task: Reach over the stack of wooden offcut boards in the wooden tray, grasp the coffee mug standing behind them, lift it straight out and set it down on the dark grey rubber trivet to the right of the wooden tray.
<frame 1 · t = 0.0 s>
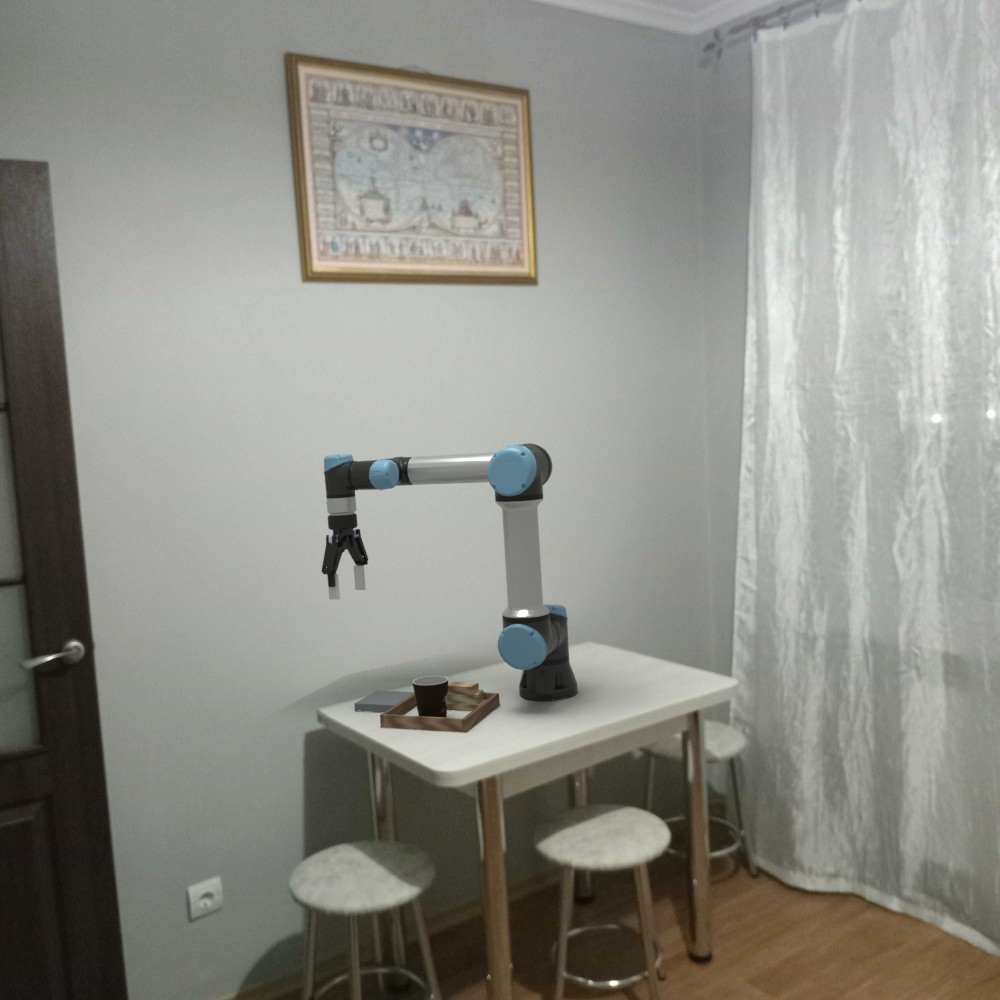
hand: (347, 594, 257), 28 cm above the table, fingers open, 13 cm apart
offcut board beech: (457, 691, 246), point 4 cm above the table, touching offcut board pine
offcut board oak: (456, 710, 246), on the table, touching offcut board pine
offcut board pine: (454, 700, 246), point 2 cm above the table, touching offcut board beech, offcut board oak
wooden tray: (441, 715, 240), on the table
trivet: (387, 705, 252), on the table
coffee mug: (436, 720, 237), on the table
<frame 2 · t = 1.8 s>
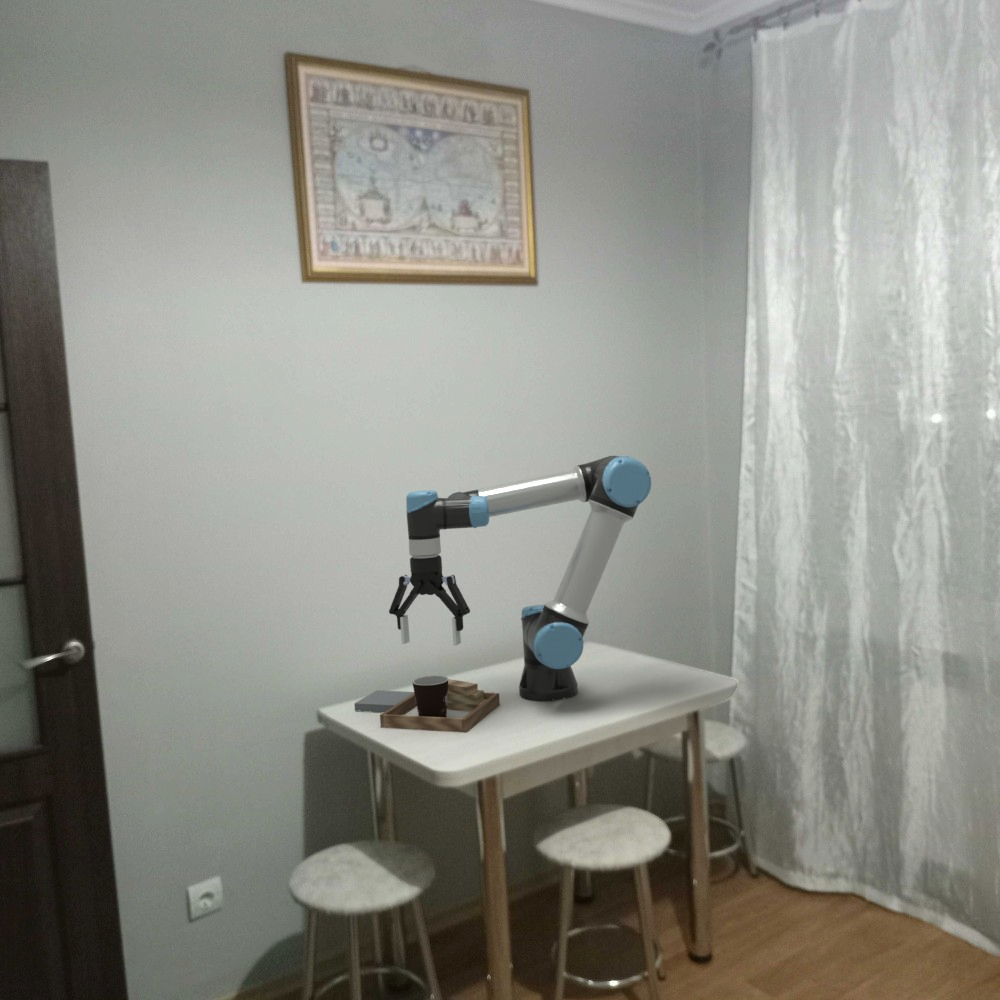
hand: (431, 643, 236), 19 cm above the table, fingers open, 13 cm apart
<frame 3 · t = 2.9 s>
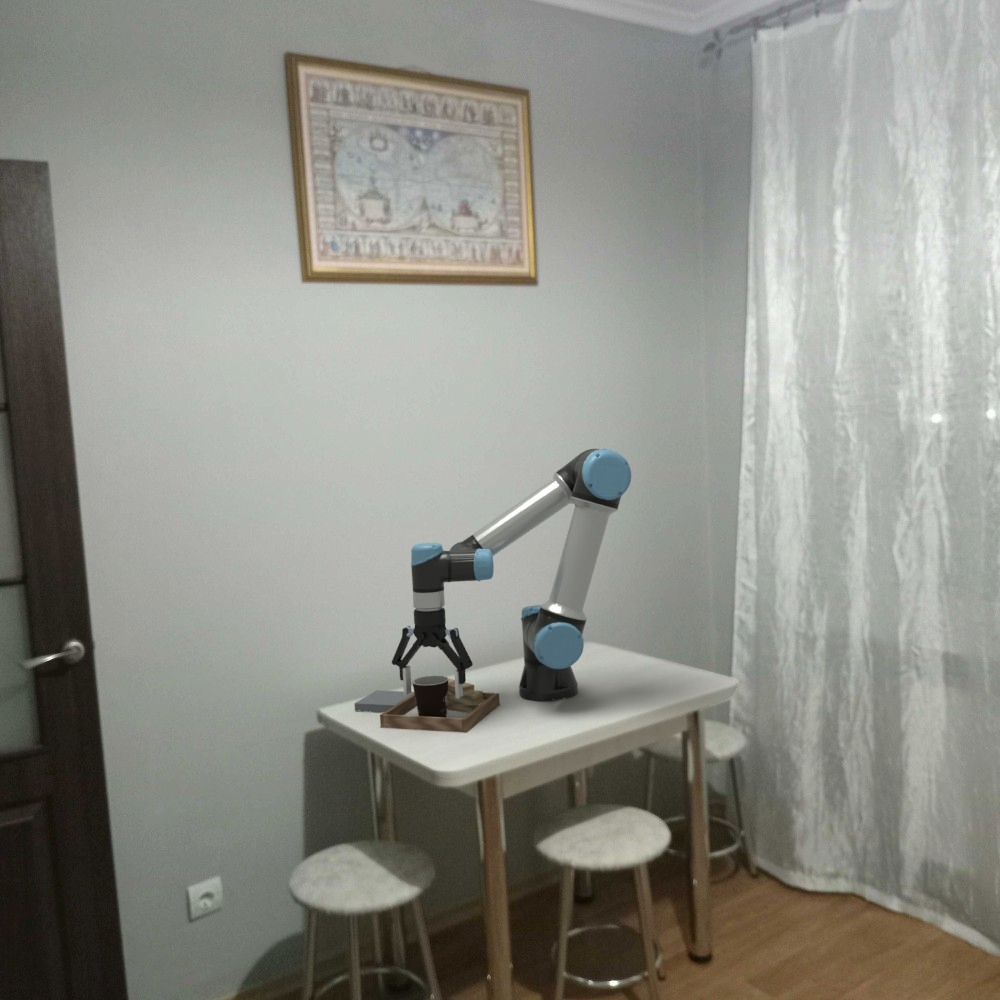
hand: (433, 695, 237), 6 cm above the table, fingers open, 13 cm apart
offcut board beech: (455, 691, 246), point 4 cm above the table
offcut board pine: (454, 700, 246), point 2 cm above the table, touching offcut board oak
everything else where it was.
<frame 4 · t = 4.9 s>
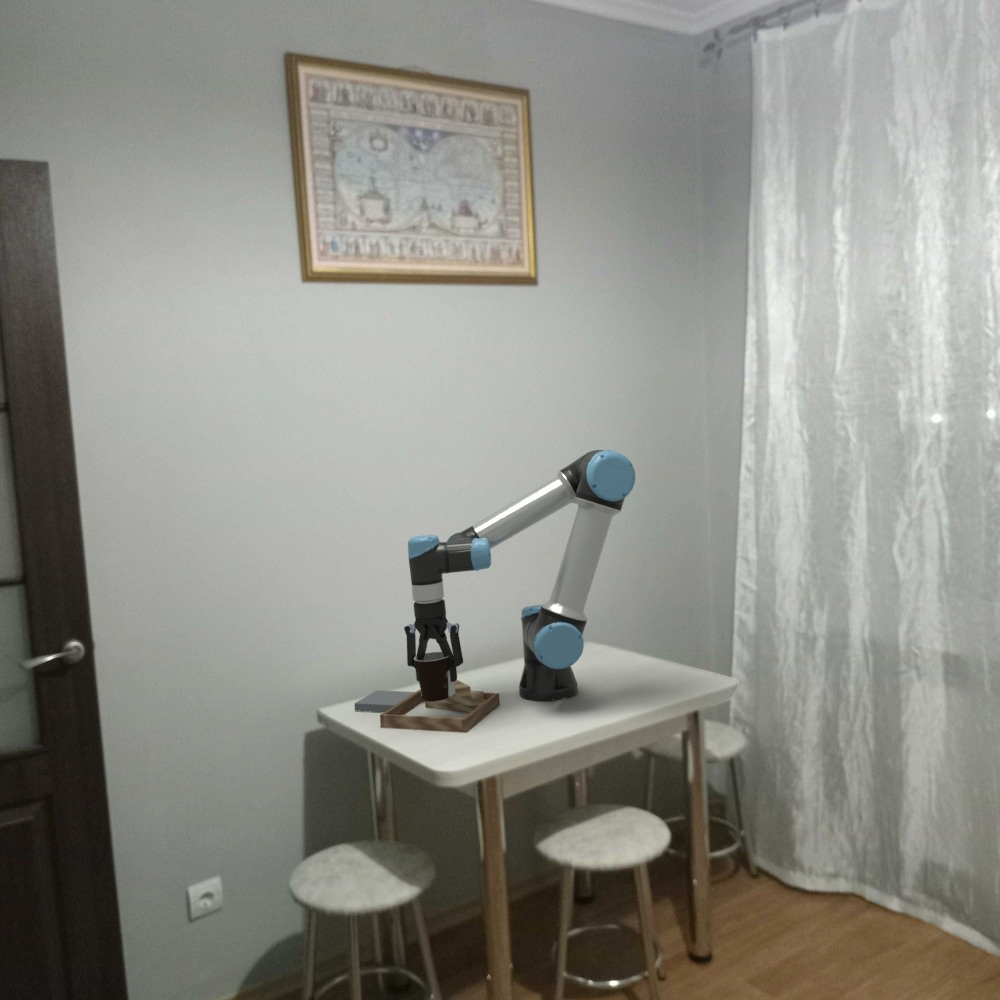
hand: (438, 694, 237), 6 cm above the table, fingers closed on coffee mug, 6 cm apart
coffee mug: (439, 696, 237), point 6 cm above the table, touching gripper
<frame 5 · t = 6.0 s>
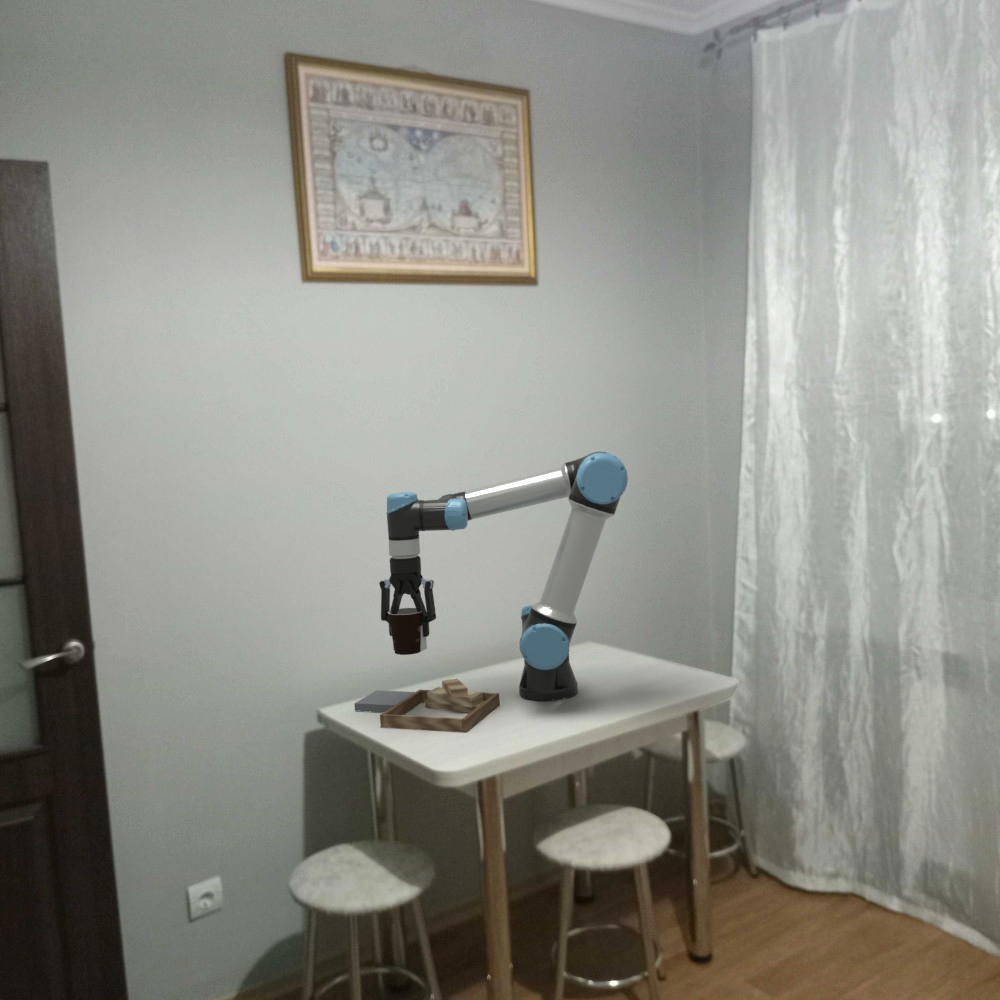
hand: (410, 649, 242), 16 cm above the table, fingers closed on coffee mug, 6 cm apart
offcut board beech: (455, 692, 245), point 4 cm above the table, touching offcut board pine
offcut board pine: (455, 701, 245), point 2 cm above the table, touching offcut board beech, offcut board oak
coffee mug: (411, 651, 242), point 16 cm above the table, touching gripper
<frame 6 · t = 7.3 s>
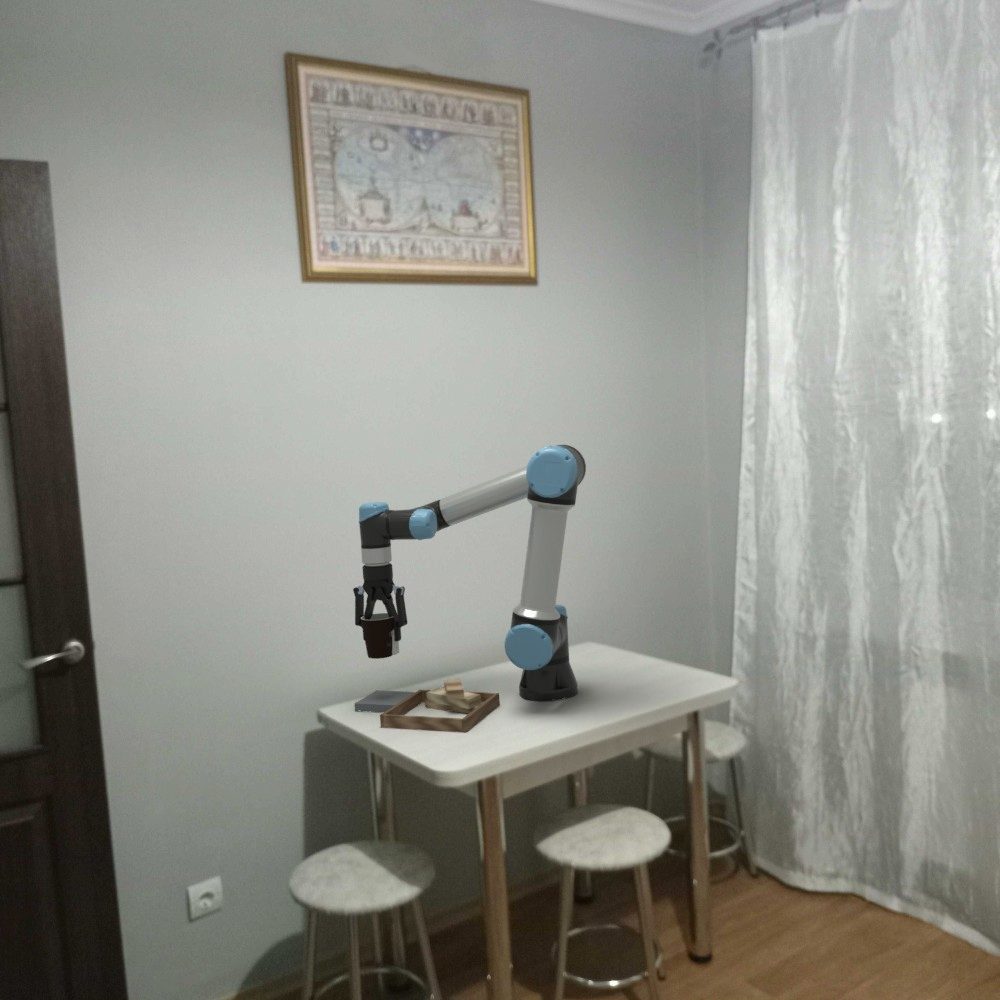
hand: (383, 653, 251), 14 cm above the table, fingers closed on coffee mug, 6 cm apart
offcut board beech: (454, 692, 245), point 4 cm above the table
offcut board pine: (453, 702, 245), point 2 cm above the table, touching offcut board oak
coffee mug: (384, 654, 251), point 13 cm above the table, touching gripper
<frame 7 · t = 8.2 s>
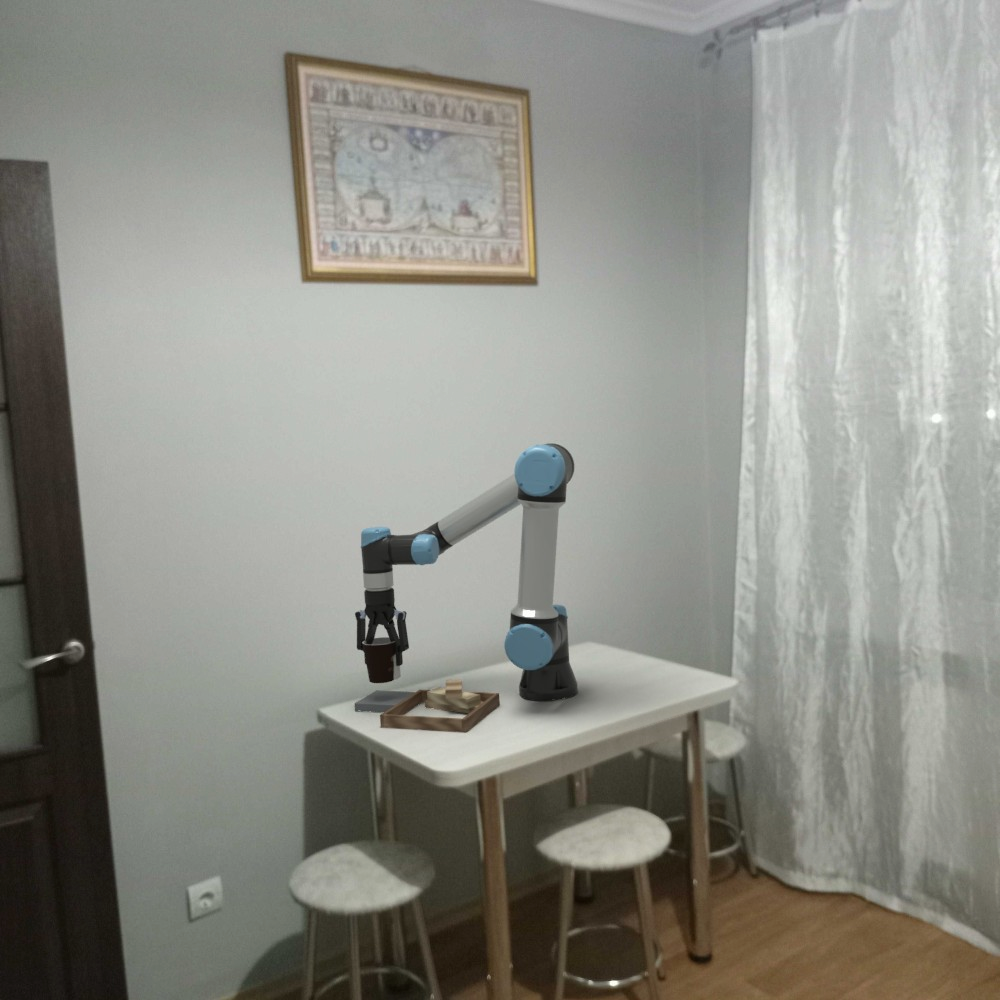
hand: (384, 677, 252), 7 cm above the table, fingers closed on coffee mug, 6 cm apart
offcut board beech: (454, 692, 245), point 4 cm above the table, touching offcut board pine
offcut board pine: (453, 702, 245), point 2 cm above the table, touching offcut board beech, offcut board oak, wooden tray
coffee mug: (385, 679, 251), point 7 cm above the table, touching gripper
everything else where it was.
when the fingers open (3 cm above the table, at t = 9.7 s): coffee mug drops 1 cm, resting on trivet.
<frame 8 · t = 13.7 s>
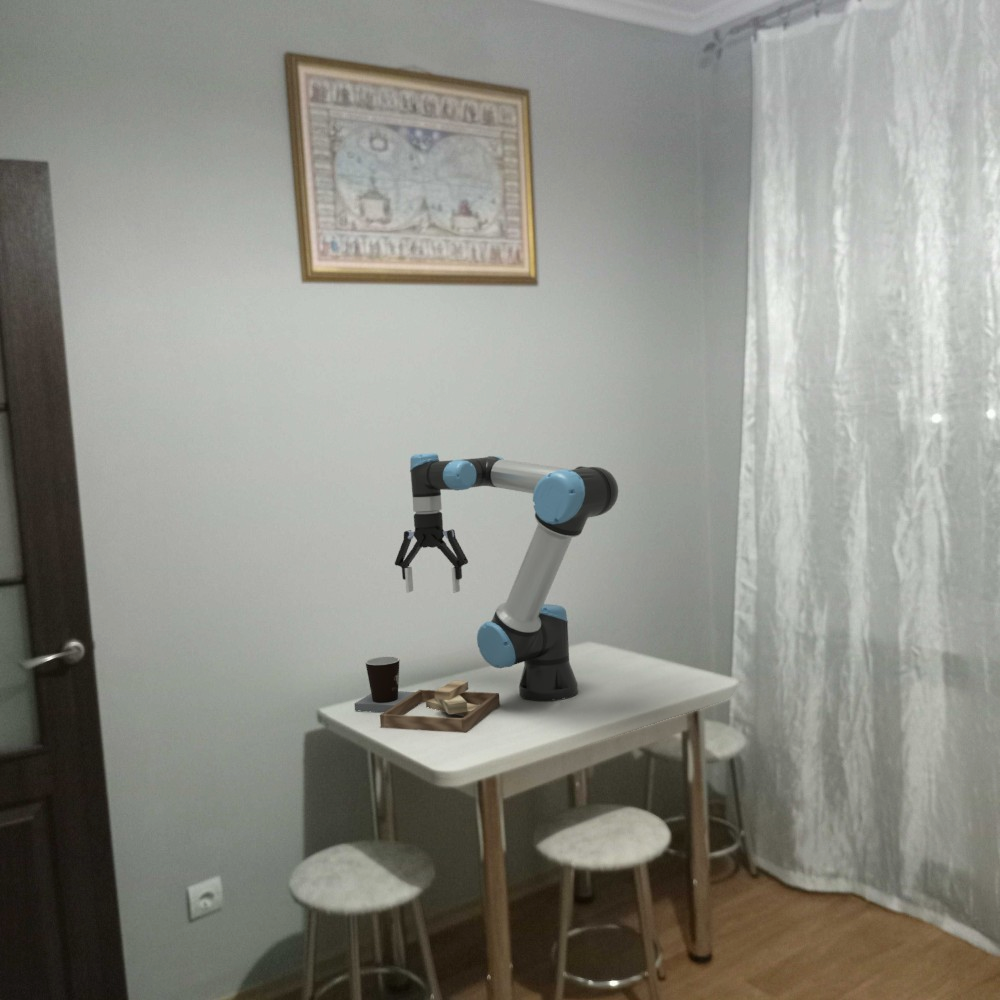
hand: (433, 591, 261), 27 cm above the table, fingers open, 13 cm apart
offcut board beech: (451, 694, 244), point 4 cm above the table, touching offcut board pine
offcut board oak: (454, 713, 244), on the table, touching offcut board pine
offcut board pine: (450, 705, 243), point 2 cm above the table, touching offcut board beech, offcut board oak
coffee mug: (388, 698, 252), point 2 cm above the table, touching trivet
at the end: coffee mug inside the target area on the trivet (0.7 cm from its centre), point 1.8 cm above the trivet's base; coffee mug tilted 0°; coffee mug touching trivet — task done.
